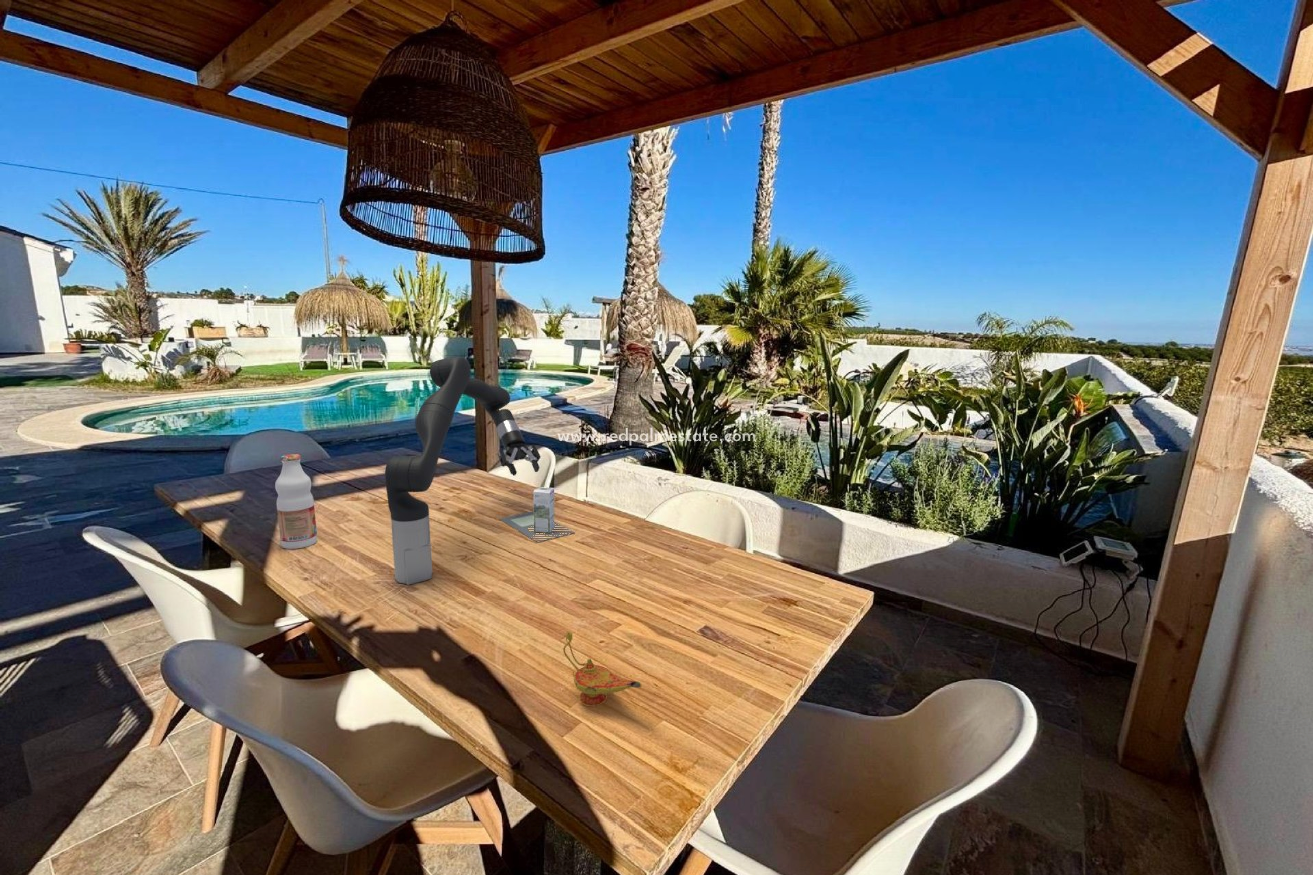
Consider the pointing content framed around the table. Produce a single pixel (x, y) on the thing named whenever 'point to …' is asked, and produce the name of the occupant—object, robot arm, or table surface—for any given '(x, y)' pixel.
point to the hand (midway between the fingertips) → (526, 472)
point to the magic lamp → (596, 681)
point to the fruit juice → (295, 505)
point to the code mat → (527, 520)
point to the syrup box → (543, 509)
